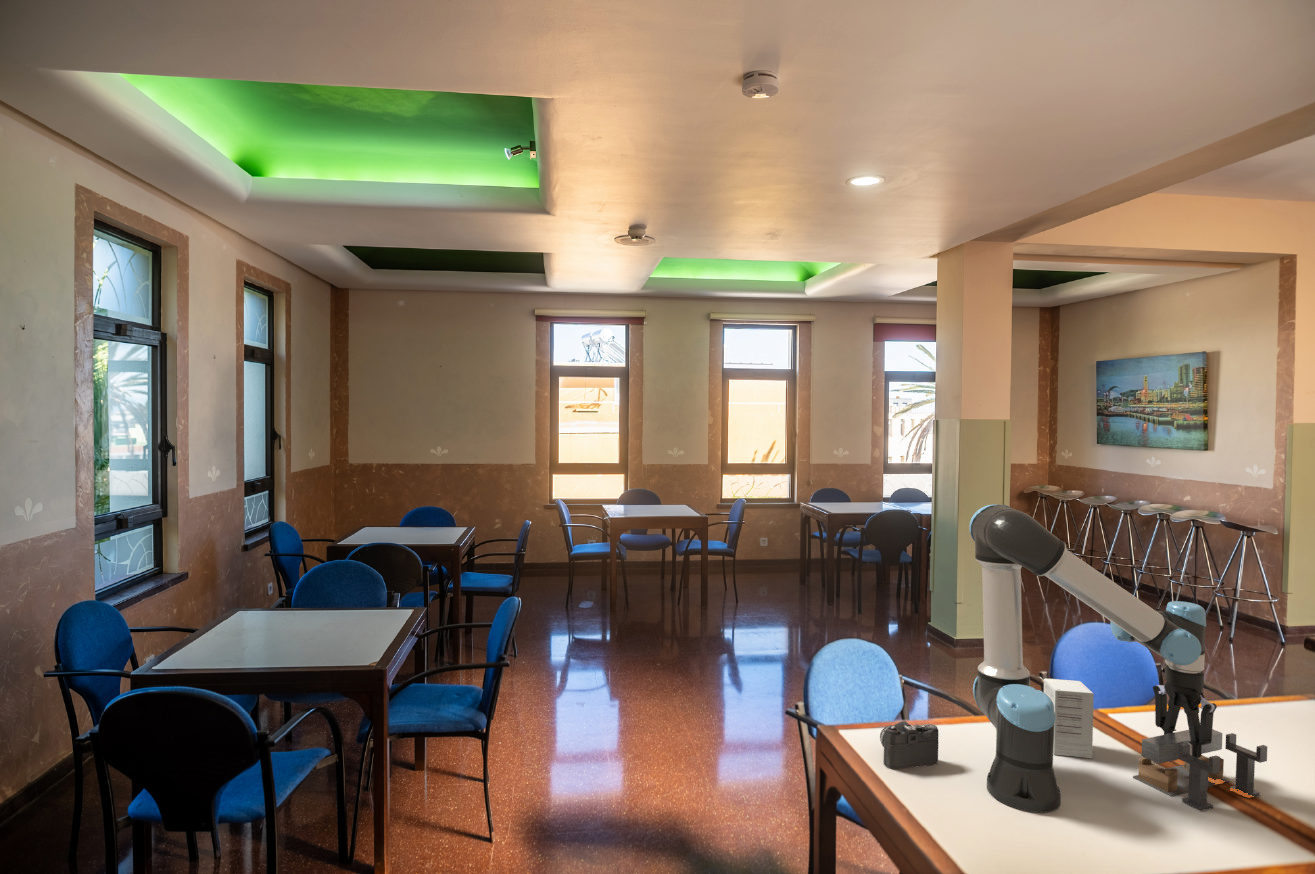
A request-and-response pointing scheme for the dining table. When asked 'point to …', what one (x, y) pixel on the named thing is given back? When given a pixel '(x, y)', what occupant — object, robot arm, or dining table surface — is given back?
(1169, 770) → the bench rests
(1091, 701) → the supplement box
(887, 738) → the camera
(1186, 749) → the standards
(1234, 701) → the dining table surface
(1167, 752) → the rail
